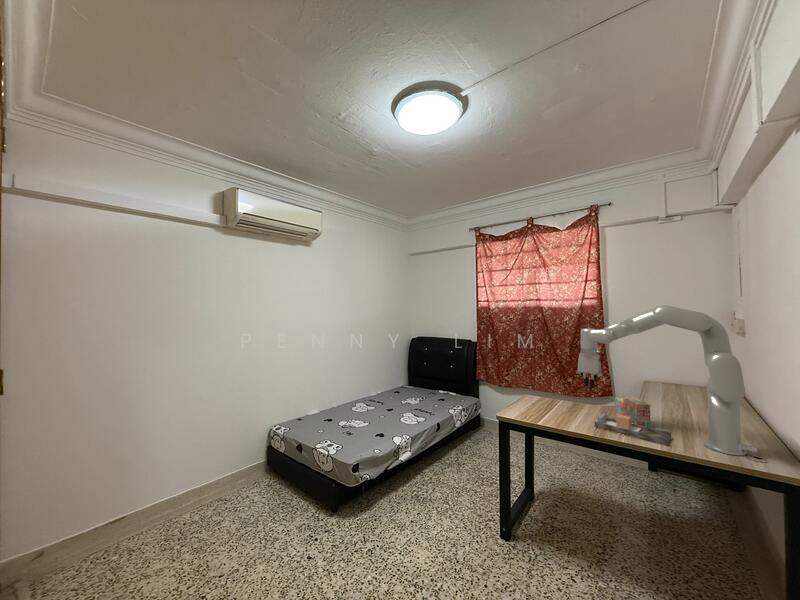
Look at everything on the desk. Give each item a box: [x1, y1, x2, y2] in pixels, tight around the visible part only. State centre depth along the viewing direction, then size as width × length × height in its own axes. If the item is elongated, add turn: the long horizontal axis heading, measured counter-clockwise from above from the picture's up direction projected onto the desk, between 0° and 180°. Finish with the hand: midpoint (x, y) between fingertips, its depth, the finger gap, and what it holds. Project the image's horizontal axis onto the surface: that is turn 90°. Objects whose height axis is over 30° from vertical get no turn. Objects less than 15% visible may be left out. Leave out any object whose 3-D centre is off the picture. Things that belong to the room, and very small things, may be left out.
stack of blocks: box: [613, 396, 651, 428], centre depth 167 cm, size 21×6×12 cm, turn 172°
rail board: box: [594, 417, 672, 447], centre depth 150 cm, size 28×12×3 cm, turn 42°
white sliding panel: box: [597, 412, 641, 432], centre depth 154 cm, size 16×9×4 cm, turn 42°
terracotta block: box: [615, 415, 631, 429], centre depth 152 cm, size 5×5×5 cm
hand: (589, 386), depth 164 cm, fingers closed
